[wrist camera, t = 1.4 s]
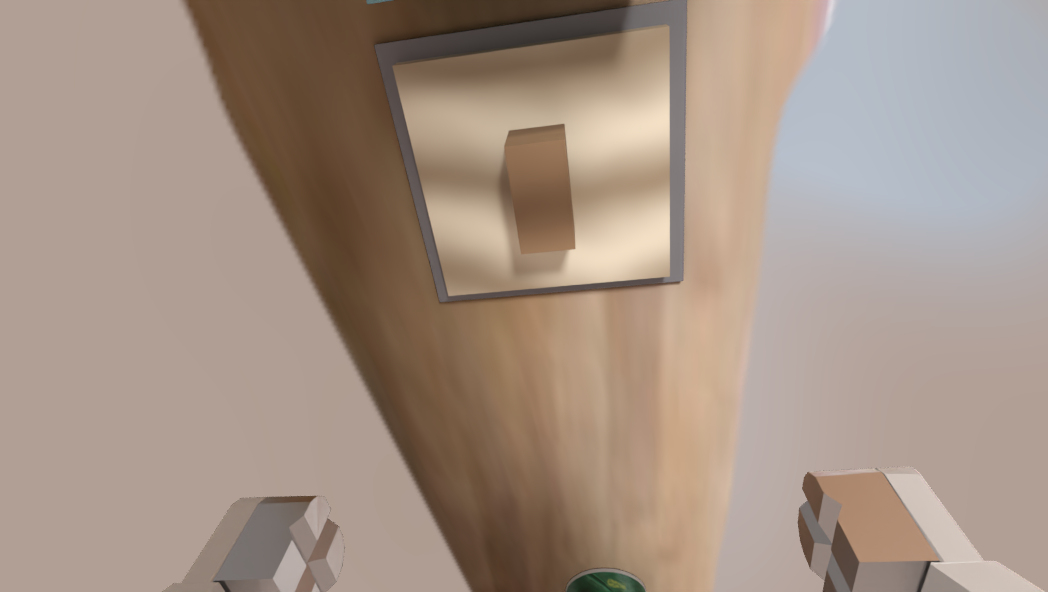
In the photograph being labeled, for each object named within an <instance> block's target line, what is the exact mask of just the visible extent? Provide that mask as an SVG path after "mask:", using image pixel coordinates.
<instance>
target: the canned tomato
mask: <svg viewBox="0 0 1048 592" xmlns="http://www.w3.org/2000/svg"><path fill="white" fill-rule="evenodd" d="M566 592H646V588H645V586H644V584H643V582H642V581H641V580H640V579H639V578H637V577H636V576H634V575H633V574H630V573H628V572H626V571H622V570H618V569H612V568H597V569H591V570H587V571H584V572H581V573H579V574H577V575H575V576H574V577H573V578H572V579H571V580H570V581H569V582H568V584H567V586H566Z"/></svg>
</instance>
